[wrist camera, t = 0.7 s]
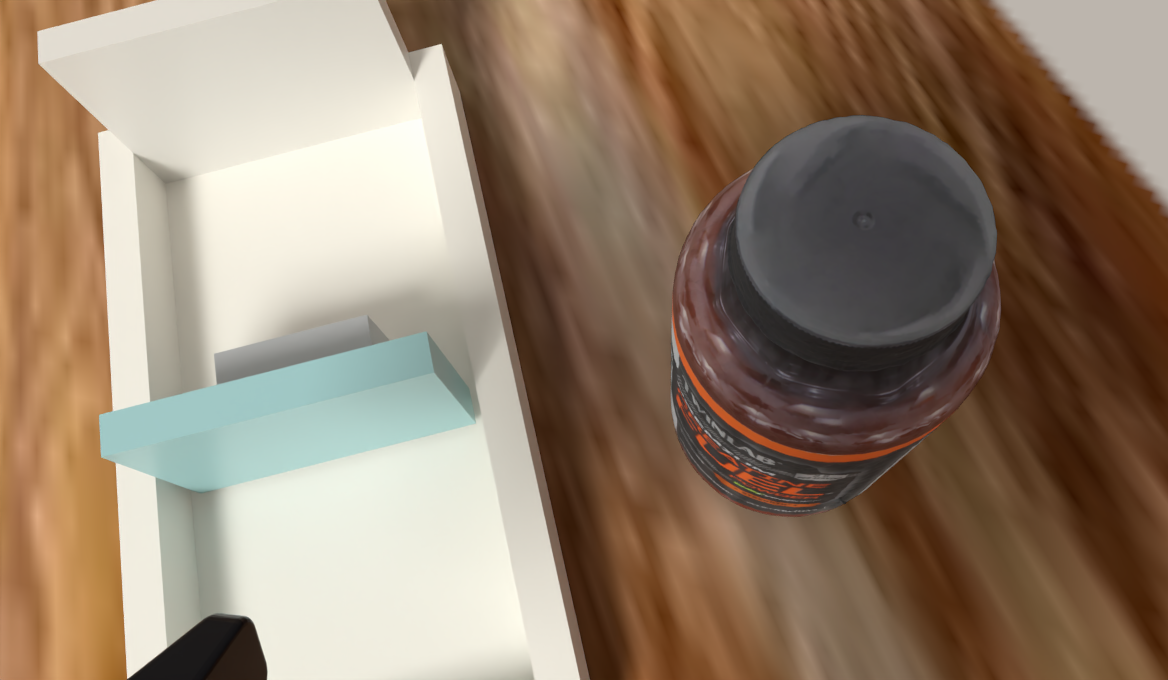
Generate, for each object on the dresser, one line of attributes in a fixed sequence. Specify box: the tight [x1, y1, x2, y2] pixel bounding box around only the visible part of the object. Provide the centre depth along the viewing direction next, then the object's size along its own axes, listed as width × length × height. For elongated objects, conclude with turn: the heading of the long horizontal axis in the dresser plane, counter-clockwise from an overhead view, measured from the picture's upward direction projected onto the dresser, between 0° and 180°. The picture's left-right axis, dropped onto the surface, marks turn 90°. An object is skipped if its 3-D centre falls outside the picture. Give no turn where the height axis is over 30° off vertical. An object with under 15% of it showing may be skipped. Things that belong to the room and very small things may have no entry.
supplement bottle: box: [671, 115, 1001, 517], centre depth 19 cm, size 6×6×11 cm
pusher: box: [99, 315, 476, 494], centre depth 23 cm, size 3×8×4 cm, turn 103°
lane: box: [38, 0, 590, 680], centre depth 23 cm, size 20×10×7 cm, turn 13°
